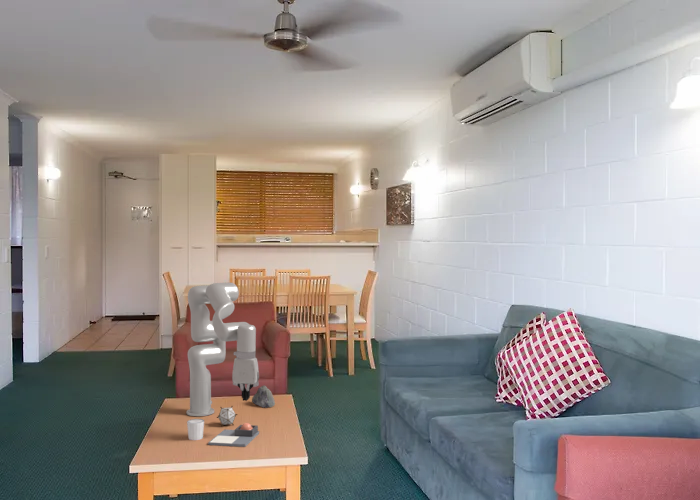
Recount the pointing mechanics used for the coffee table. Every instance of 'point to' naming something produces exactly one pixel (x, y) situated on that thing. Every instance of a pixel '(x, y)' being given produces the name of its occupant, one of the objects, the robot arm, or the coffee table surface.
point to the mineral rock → (263, 397)
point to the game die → (226, 415)
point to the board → (235, 437)
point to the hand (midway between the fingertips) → (245, 399)
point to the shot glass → (195, 429)
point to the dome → (246, 427)
